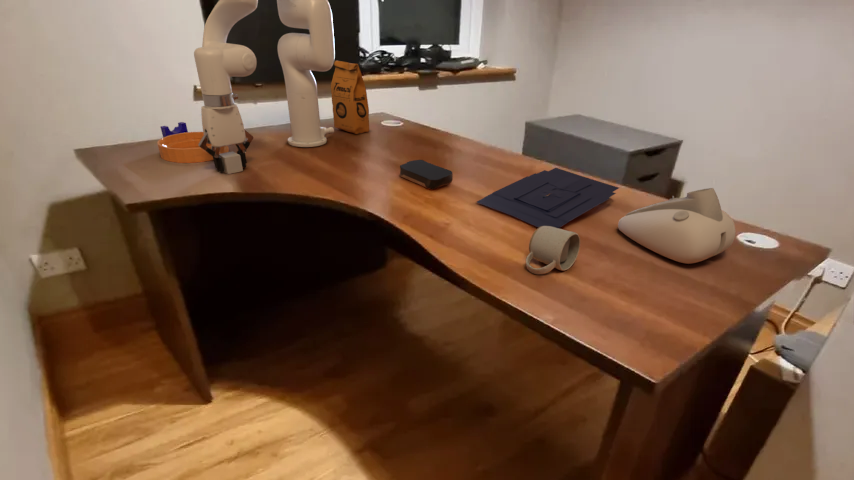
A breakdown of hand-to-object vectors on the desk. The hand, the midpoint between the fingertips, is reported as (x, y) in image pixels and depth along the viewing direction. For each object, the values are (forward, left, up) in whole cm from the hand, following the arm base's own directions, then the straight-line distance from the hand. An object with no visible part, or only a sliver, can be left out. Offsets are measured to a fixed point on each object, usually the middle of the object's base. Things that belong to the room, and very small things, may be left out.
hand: (231, 168), depth 151 cm
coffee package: (-53, -16, -1) cm, 55 cm away
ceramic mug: (-22, +95, -1) cm, 98 cm away
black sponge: (-37, +41, -1) cm, 55 cm away
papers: (-50, +74, -1) cm, 89 cm away
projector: (-50, +106, -1) cm, 117 cm away
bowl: (+2, -20, -1) cm, 20 cm away
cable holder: (-1, -44, -1) cm, 44 cm away
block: (0, 0, -1) cm, 1 cm away
